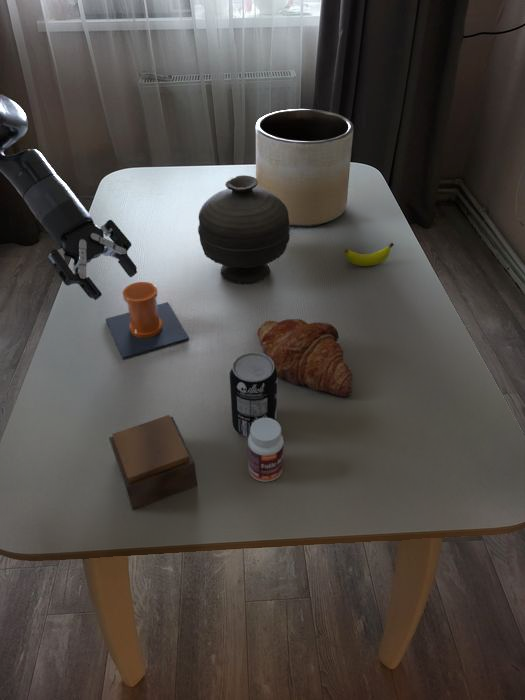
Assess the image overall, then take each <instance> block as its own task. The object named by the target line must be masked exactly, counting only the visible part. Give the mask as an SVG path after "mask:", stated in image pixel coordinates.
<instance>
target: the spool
mask: <svg viewBox="0 0 525 700" xmlns="http://www.w3.org/2000/svg"><path fill="white" fill-rule="evenodd" d="M122 297H123V300H124V301H125V302H126V305H127V311H128V313H129V316H130V321H131V323H130V326H129V327H130V332H131V333H132V334H133V335H134V336H136V337H139V338H149V337H153V336H155V335H157V334H158V333H159V332H160V331H161V330H162V327H163V325H162V321H161V319H160V318H159V314H158V308H157V305H158V303H157V298H158V288H157V287H156V285H155V284H154V283H151V282H148V281H138V282H133V283H131V284H129V285H127V286H126V287H125V288H124V289H123V290H122Z"/></svg>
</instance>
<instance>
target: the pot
mask: <svg viewBox="0 0 525 700" xmlns="http://www.w3.org/2000/svg"><path fill="white" fill-rule="evenodd" d="M257 184H258V181H257V179H256V177H254V176H252V175H243V174H242V175H236V176H235V177H234V176H232V177H229V178H228V180H227V181H225V187H226V189H223V190H220V191H218V192H216V193H215V194H213V195H212V196H210V197H209V198H208V199H207V200H206V201H205V202H204V203H203V204H202V206H201V208H200V209H199V213H198V220H199V222H198V228H197V233H198V236H199V243H200V245H201V248H202V251H203V253H204V254H203V255H204V256H205V257H206V258H207V259H210V260H211V261H212V262H214V263H217V264H220V265H221V267H220V275H221V277H222V278H223V279H224V280H226V281H227V282H230V283H233V284H235V285H246V286H247V285H254V284H258V283H261V282H264V280H266V279H268V277H270V273H271V268H270V263H272V262H274V261H276V260H277V259H279V258H280V257H281V256H283V254H285V252H286V250H287V248H288V244H289V242H290V229H291V227H290V226H291V225H289V217H288V210H287V208H286V206H285V204H284V203H283V202H282V201H281V200H280V199H279V198H278V197H277V196H275V195H274V194H272V193H270V192H269V191H267V190H265V189H262V188H257V187H256V186H257Z"/></svg>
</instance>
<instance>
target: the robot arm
mask: <svg viewBox="0 0 525 700" xmlns="http://www.w3.org/2000/svg"><path fill="white" fill-rule="evenodd" d="M27 117H28V116H27V115H26V113H25V112H24V110H23V109H22V107H21V106H20V105H19V104H17V102H15V101H14V100H12V99H11V98H9V97H7V96H6V95H4V94H1V93H0V172H1V174H3V175H4V177H5V178H6V179H7V180H8V181H9V182H10V183H11V185H13V187H14V188H15V189H16V192H18V194H19V195H20V196H21V197H22V199H23V200H24V202H25V203H26V204H27V206H28V208H29V210H30V211H31V212H32V214H33V215H34V217H35V219H36V220H37V221H38V222H39V224H41V225H42V227H43V228H44V229H45V230H46V232H47V233H48V235H49V236H50V238H52V240H53V241H54V242H55V244H58V246H59V249H51V251H50V253H49V254H48V256H47V257H46V258H47V261H48V262H49V264H50V265H51V267H52V268H53V269H54V271H55V272H56V273H57V275H58V277H59V278H60V280H61V281H62V283H63V284H64V285H66V286H68V287H69V286H71V285H75V284H77V285H78V286H79V287H80V288H81V289H82V290H83V292H84V293H85V294H86V295H87V296H88V298H90V299H93V300H94V301H96V300H98V299H100V297H102V295H103V294H102V292H101V290H100V289H99V288H98V287H97V286H96V284H95V283H94V282H93V280H92V279H91V278H90V277H89V276H88V277H87V265H88V264H89V263H90V262H91V261H92V260H94V259H97V258H99V257H101V255H102V256H105V257H110V258H111V257H112V258H114V259H115V260H117V263H118V264H119V266H120V267H121V268H122V270H123V271H124V272H125V273H126V274H127V276H128V277H129V278H133V277H135V276H136V274H138V268H137V265H136V264H135V262H133V260H132V259H131V258H130V256H129V254H128V251H129V250H130V248H131V247H132V242H131V241H130V240H129V239H128V238H127V236H126V234H125V233H124V232H122V230H121V229H120V228H119V226H118V225H117V224H116V223H115V222H114V221H113V220H112V219H108V220H107V221H106V222H105V223H104V224H103V225H101V226H100V227H99V226H98V225H97V224H95V222H94V220H93V217H92V216H91V214H90V213H89V212H88V210H87V209H86V208H85V206H84V205H83V204H82V202H80V200H79V198H78V197H77V196H76V194H75V193H74V192H73V190H72V189H71V188H70V187H69V186H68V185H67V183H66V182H65V181H64V180H62V178H61V177H60V176H59V175H58V173H57V172H56V171H55V170H54V168H53V167H52V166H51V164H50V163H49V162H48V160H47V159H46V158H45V157H44V155H43V154H42V153H41V152H40V151H39V150H37V149H34V148H27V149H25V150H21V151H19V152H17V153H14V154H11V155H6V154H4V151H5V150H7V149H8V148H10V147H11V146H12V145H14V144H15V143H16V142H18V141H19V140H20V139H21V138H23V137H24V136H25V135H26V133H27V131H28V128H29V120H28V118H27ZM104 236H105V237H104ZM106 237H109V238H110V240H109V239H107V238H106ZM66 257H67V258H70V259H71V260H72V268H71V267H70V266H69V264H68V263H67V262H66ZM72 269H73V270H72Z"/></svg>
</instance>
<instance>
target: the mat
mask: <svg viewBox="0 0 525 700" xmlns="http://www.w3.org/2000/svg"><path fill="white" fill-rule="evenodd" d="M157 308H158V314H159V318H160V319H161V321H162V325H163V327H162V330H161V331H160V332H159V333H158V334H157V335H155V336H153V337H149V338H139V337H136V336H134V335H133V334H132V333H131V332H130V327H129V326H130V323H131V321H130V316H129V312H126V313H122V314H117V315H113V316H111V317H106V318H105V322H106V324H107V326H108V329H109V331H110V333H111V336H112V338H113V340H114V342H115V346H116V347H117V349H118V352H119V355H120V357H121V358H122V360H126V359H129V358H133V357H136V356H137V357H138V356H141V355H143V354H147V353H150V352H153V351H157V350H160V349H163V348H168V347H170V346H173V345H177V344H180V343H184V342H187V341H190V337H189V334H188V333H187V331H186V330H185V328H184V327H183V325H182V322H180V320H179V318H178V317H177V315H176V313H175V311H174V310H173V308H172V307H171V305H170V303H169V302H168V301H167V302H163V303H159V304H157Z"/></svg>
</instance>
